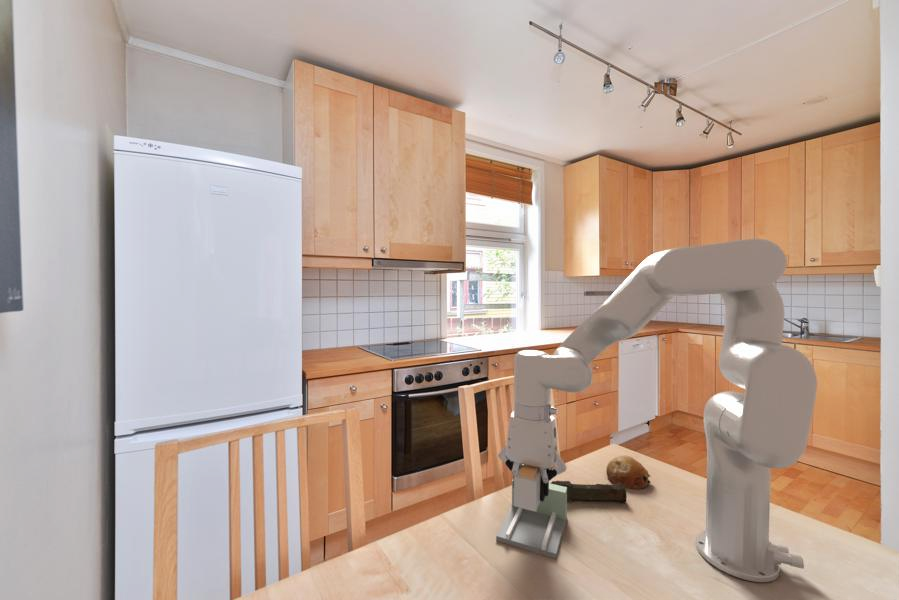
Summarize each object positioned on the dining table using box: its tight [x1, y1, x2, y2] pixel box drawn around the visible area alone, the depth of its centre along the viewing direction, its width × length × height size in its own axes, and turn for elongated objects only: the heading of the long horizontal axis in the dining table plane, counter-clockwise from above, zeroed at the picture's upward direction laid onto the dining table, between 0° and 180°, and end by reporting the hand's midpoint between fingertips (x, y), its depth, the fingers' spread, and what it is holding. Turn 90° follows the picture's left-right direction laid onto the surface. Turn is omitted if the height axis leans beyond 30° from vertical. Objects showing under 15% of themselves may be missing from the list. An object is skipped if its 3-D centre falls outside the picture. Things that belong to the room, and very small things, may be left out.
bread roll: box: [605, 454, 651, 490], centre depth 100 cm, size 10×10×8 cm
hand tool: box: [549, 480, 627, 504], centre depth 91 cm, size 19×4×5 cm, turn 86°
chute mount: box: [495, 479, 568, 559], centre depth 80 cm, size 12×14×7 cm
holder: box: [514, 464, 542, 512], centre depth 78 cm, size 4×10×7 cm, turn 154°
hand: (530, 494), depth 79 cm, fingers closed on holder, 4 cm apart
